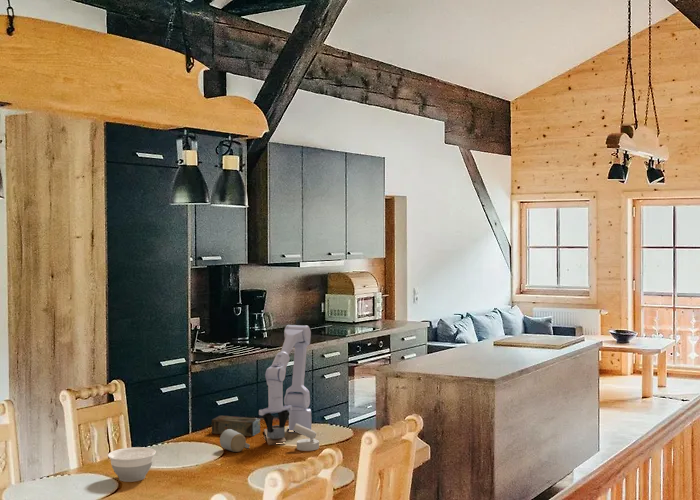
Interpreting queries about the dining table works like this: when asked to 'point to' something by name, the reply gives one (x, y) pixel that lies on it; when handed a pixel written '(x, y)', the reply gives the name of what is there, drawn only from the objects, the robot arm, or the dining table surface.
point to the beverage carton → (236, 425)
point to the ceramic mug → (233, 441)
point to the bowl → (131, 462)
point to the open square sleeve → (276, 432)
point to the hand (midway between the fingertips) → (275, 430)
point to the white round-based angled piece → (306, 443)
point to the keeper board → (274, 441)
